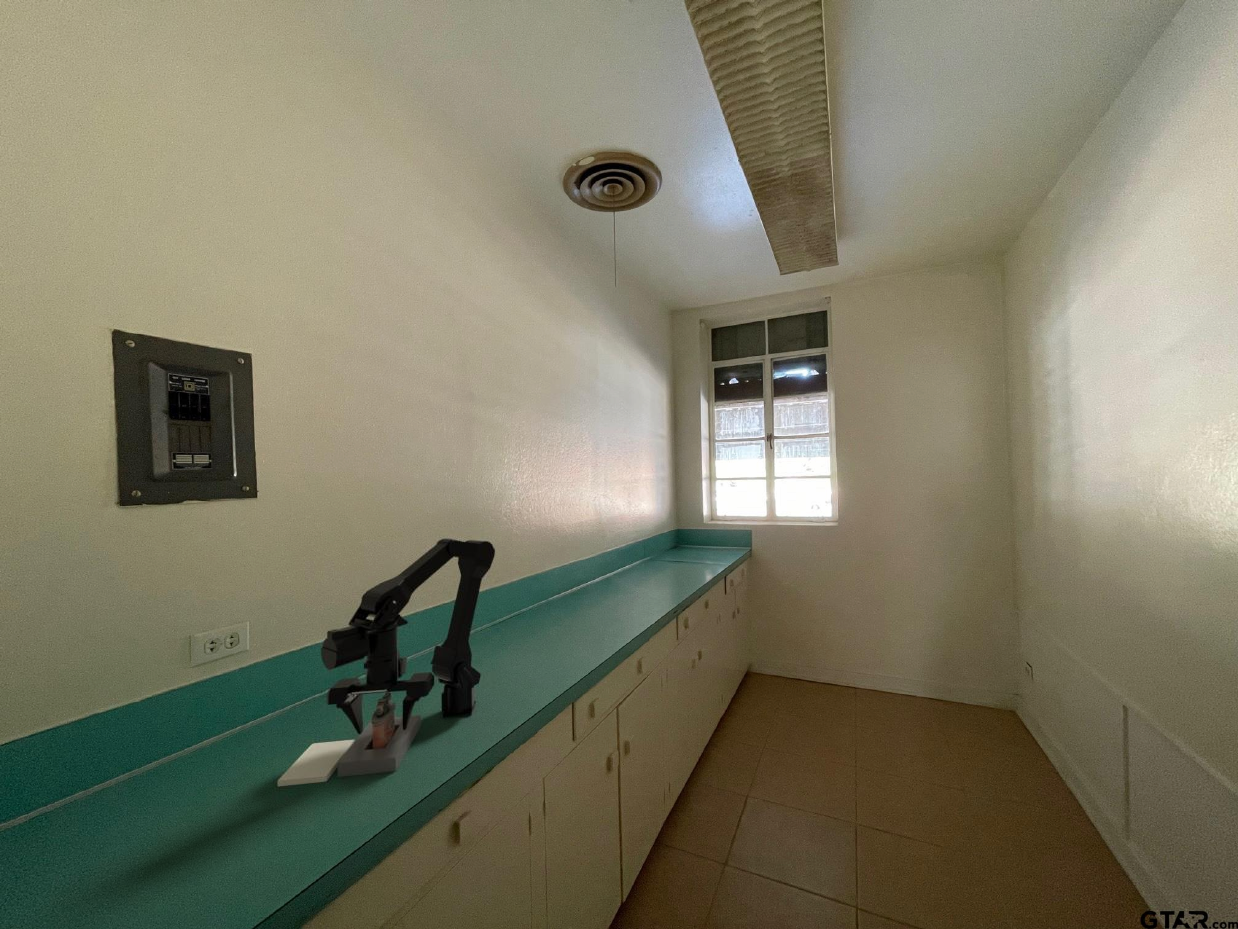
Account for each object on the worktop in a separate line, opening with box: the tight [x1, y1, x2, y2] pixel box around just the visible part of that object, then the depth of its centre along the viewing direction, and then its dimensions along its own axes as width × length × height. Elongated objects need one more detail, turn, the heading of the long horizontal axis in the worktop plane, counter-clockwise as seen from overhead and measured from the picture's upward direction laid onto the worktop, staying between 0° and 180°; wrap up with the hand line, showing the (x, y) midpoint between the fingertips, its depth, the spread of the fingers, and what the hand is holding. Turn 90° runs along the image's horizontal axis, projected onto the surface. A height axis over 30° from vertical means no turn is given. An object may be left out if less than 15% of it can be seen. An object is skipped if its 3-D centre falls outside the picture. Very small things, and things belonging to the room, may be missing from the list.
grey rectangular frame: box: [337, 714, 422, 778], centre depth 94 cm, size 10×16×2 cm, turn 8°
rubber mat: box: [277, 739, 356, 787], centre depth 90 cm, size 8×12×1 cm, turn 8°
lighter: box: [370, 692, 396, 749], centre depth 95 cm, size 8×3×10 cm, turn 9°
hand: (382, 731), depth 94 cm, fingers open, 8 cm apart
